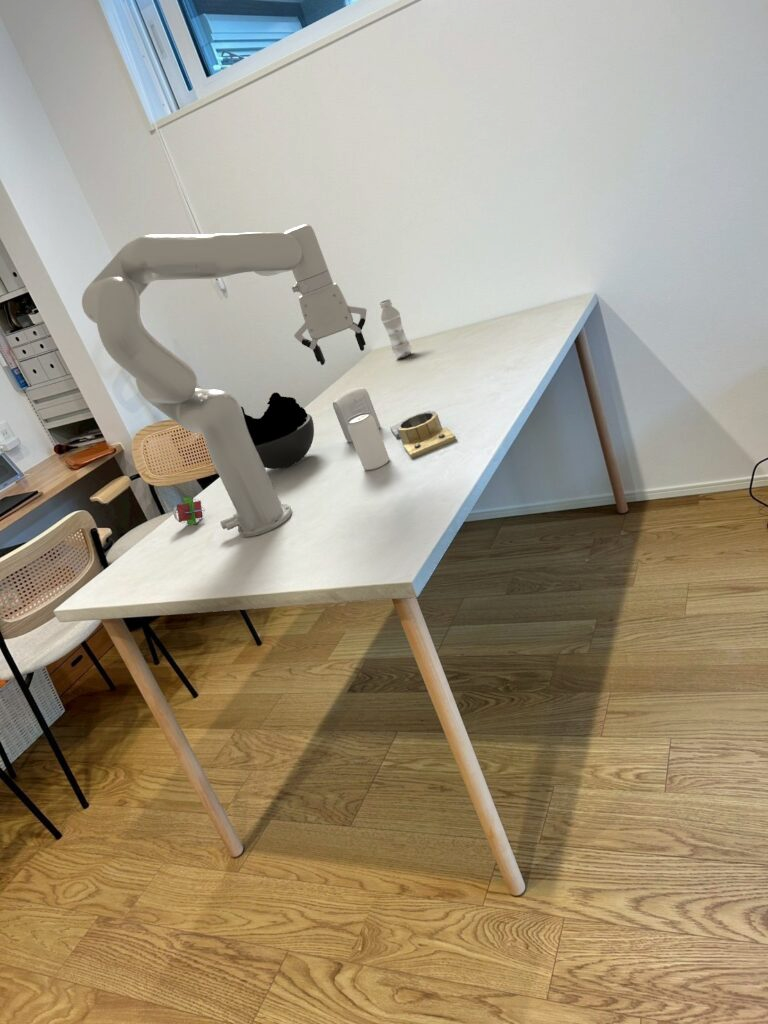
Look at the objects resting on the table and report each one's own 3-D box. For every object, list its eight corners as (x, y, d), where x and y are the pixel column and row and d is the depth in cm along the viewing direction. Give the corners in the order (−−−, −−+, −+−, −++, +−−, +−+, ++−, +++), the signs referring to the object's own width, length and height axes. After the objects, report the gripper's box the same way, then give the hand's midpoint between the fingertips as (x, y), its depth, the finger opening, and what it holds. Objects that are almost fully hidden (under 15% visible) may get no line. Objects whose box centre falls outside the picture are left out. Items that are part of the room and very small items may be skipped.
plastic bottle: (392, 360, 274) (372, 305, 267) (408, 352, 276) (389, 297, 268) (400, 361, 268) (379, 305, 261) (416, 353, 270) (397, 297, 263)
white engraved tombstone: (375, 425, 211) (358, 382, 207) (383, 426, 208) (367, 383, 203) (344, 442, 207) (327, 399, 203) (352, 443, 204) (334, 400, 199)
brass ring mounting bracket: (411, 459, 177) (405, 443, 176) (391, 431, 201) (386, 417, 200) (456, 440, 177) (451, 424, 176) (431, 414, 201) (426, 400, 200)
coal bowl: (340, 444, 207) (313, 378, 200) (293, 480, 194) (263, 411, 187) (287, 450, 220) (260, 388, 213) (240, 485, 206) (209, 420, 199)
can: (359, 472, 182) (340, 425, 177) (371, 459, 187) (353, 414, 182) (382, 469, 178) (363, 421, 174) (394, 456, 183) (376, 409, 179)
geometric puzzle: (200, 503, 197) (173, 491, 192) (215, 503, 192) (189, 491, 187) (190, 530, 195) (163, 518, 190) (206, 531, 190) (179, 519, 185)
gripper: (276, 299, 171) (306, 372, 178) (351, 272, 169) (378, 347, 175) (281, 294, 178) (309, 365, 185) (353, 268, 176) (378, 340, 182)
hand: (343, 356), depth 180 cm, fingers open, 9 cm apart
